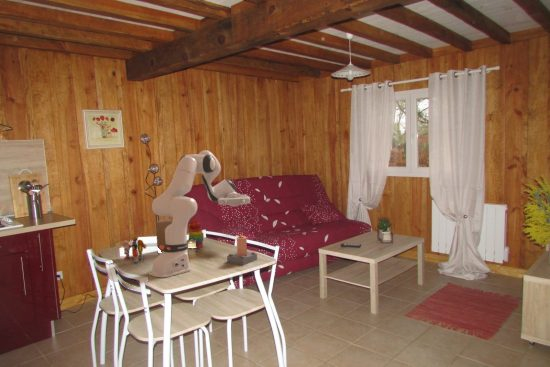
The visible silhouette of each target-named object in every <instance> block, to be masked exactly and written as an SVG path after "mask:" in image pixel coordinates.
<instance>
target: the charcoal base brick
mask: <svg viewBox="0 0 550 367" xmlns="http://www.w3.org/2000/svg"><path fill="white" fill-rule="evenodd" d="M257 260H258V253H256V252H255V251H252V252H249V251H247V256H238V255H237V251H236V252H232V253H228V255H226V263H231V264H236V265H240V266H241V265H242V266H245V265H247V264H250V263H253V262H255V261H257Z"/></svg>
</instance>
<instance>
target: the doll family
mask: <svg viewBox="0 0 550 367" xmlns="http://www.w3.org/2000/svg"><path fill="white" fill-rule="evenodd" d="M131 241H132V242H131V244H129V243H130V242H129V241H128V240H124V241H123V242H122V245H121V247H123V250H124V252H123V254H124V255H125V257H124V260H130V259H131V257H130V250H132V260H133V261H132V265H138V264H139V263H140V262H143V261H144V259H143V258H144V257H143V250H145V249H147V245H146V244H145V243H144V241H143V240H142V239H139V236H132V237H131Z"/></svg>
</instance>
